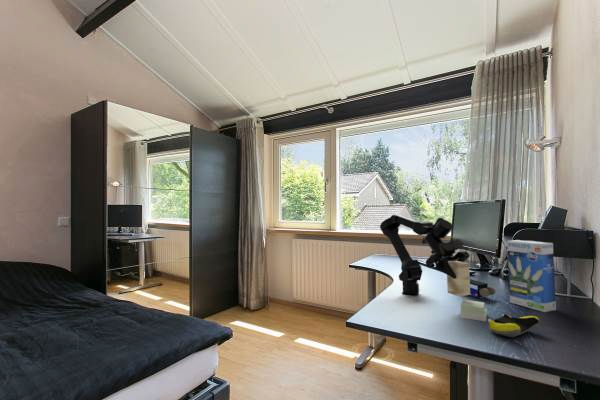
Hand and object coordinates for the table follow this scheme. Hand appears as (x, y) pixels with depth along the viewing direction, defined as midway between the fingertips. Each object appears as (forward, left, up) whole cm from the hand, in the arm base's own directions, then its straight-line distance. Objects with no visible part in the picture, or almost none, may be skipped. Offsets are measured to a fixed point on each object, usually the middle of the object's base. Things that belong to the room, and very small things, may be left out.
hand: (461, 277), depth 112 cm
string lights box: (+23, +21, -14) cm, 34 cm away
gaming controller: (+15, -14, -14) cm, 25 cm away
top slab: (+4, -2, -11) cm, 12 cm away
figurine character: (+3, +25, -14) cm, 28 cm away
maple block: (-1, +1, -7) cm, 7 cm away
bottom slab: (+4, -2, -14) cm, 14 cm away
